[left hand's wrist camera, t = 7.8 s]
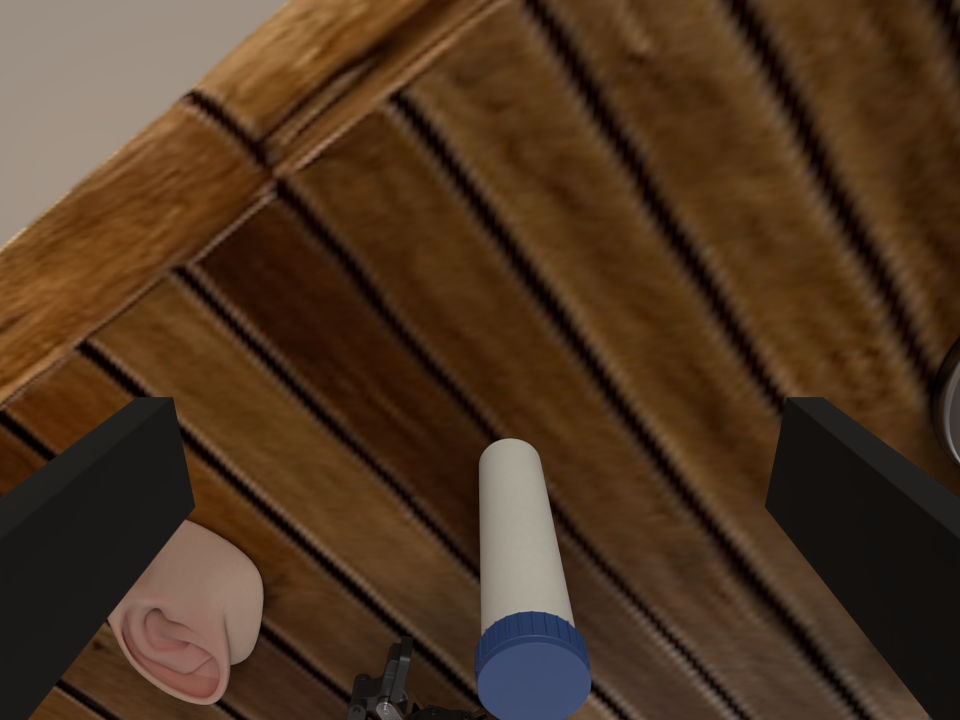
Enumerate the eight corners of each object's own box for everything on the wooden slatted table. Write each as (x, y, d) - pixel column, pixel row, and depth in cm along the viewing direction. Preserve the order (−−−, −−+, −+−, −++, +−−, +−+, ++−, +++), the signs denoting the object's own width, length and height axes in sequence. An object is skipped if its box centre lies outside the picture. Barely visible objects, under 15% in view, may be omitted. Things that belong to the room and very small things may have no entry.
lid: (543, 707, 27) (547, 743, 25) (453, 664, 26) (452, 699, 24) (607, 639, 25) (616, 673, 24) (515, 591, 24) (518, 623, 23)
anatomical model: (99, 537, 37) (272, 591, 39) (133, 501, 41) (290, 552, 43) (66, 677, 42) (223, 720, 43) (100, 633, 45) (243, 674, 47)
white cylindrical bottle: (517, 501, 41) (544, 727, 26) (467, 473, 41) (462, 688, 25) (552, 457, 40) (604, 665, 24) (501, 427, 39) (520, 622, 23)
